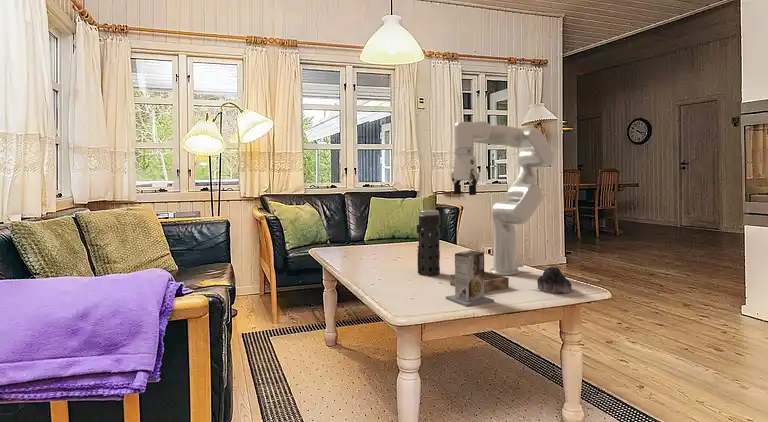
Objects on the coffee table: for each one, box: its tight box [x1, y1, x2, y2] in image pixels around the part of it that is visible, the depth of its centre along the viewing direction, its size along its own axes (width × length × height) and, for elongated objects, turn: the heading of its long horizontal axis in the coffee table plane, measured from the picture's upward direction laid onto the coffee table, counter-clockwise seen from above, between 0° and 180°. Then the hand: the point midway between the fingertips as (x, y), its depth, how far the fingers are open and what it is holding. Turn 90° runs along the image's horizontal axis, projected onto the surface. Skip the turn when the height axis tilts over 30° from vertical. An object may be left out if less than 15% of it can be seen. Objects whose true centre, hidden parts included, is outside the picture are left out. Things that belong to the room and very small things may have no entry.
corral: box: [449, 270, 510, 293], centre depth 198 cm, size 16×16×4 cm
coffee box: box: [454, 249, 485, 302], centre depth 177 cm, size 9×6×16 cm
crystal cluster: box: [537, 266, 573, 294], centre depth 191 cm, size 13×14×10 cm
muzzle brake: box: [416, 209, 441, 277], centre depth 222 cm, size 10×28×10 cm
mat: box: [445, 294, 495, 307], centre depth 177 cm, size 12×12×1 cm
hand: (464, 194), depth 207 cm, fingers open, 9 cm apart
